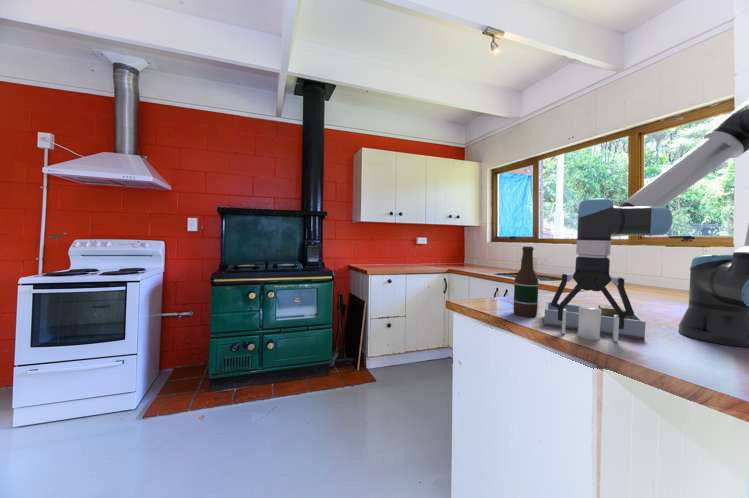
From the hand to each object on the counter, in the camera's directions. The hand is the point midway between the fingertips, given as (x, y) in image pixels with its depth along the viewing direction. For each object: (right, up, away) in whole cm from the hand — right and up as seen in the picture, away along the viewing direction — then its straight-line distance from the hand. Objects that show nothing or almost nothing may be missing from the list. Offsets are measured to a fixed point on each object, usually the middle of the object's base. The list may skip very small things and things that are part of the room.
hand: (588, 336), depth 83 cm
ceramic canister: (0, 0, 0) cm, 0 cm away
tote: (+7, 0, +10) cm, 13 cm away
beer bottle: (-6, +1, +24) cm, 24 cm away
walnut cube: (+12, +1, +7) cm, 14 cm away
